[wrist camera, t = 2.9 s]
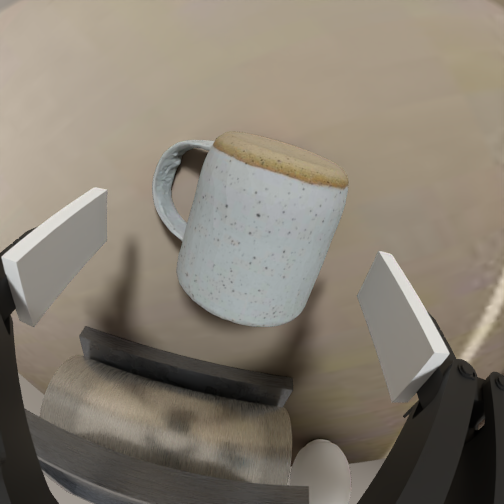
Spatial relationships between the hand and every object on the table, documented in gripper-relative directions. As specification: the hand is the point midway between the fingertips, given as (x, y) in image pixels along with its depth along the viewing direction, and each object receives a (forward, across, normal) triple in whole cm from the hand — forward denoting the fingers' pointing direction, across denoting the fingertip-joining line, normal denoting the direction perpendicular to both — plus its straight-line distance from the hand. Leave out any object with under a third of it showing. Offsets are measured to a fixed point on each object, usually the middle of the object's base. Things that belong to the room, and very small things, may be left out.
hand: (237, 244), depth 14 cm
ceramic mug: (+6, 0, 0) cm, 6 cm away
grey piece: (+6, +2, +21) cm, 22 cm away
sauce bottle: (+6, -16, +30) cm, 35 cm away
